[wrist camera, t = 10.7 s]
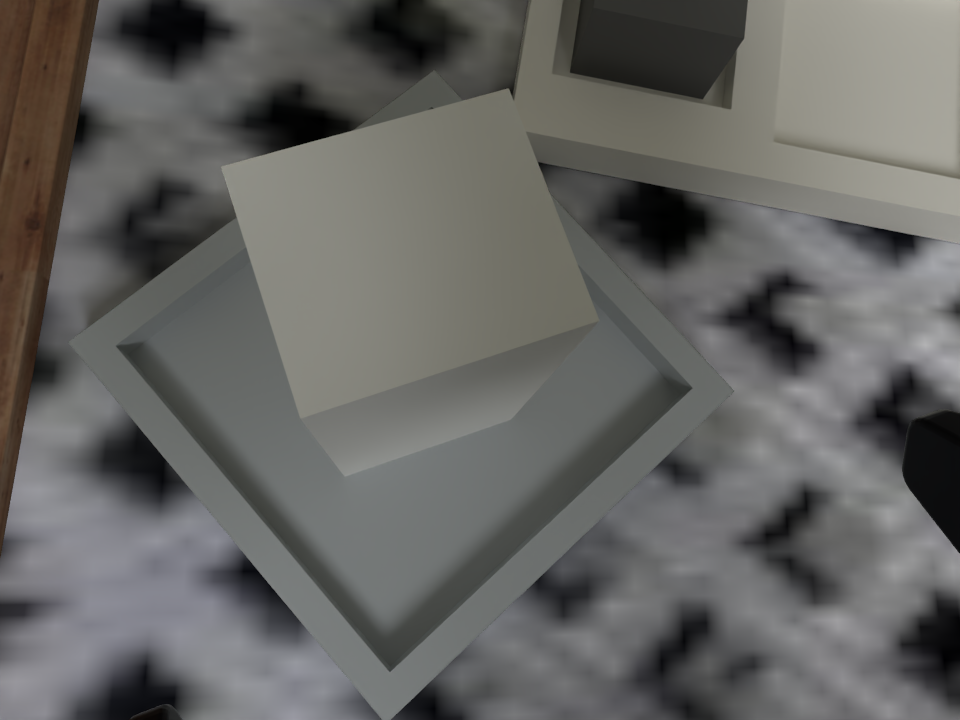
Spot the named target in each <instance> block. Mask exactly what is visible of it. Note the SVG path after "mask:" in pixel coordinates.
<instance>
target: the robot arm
mask: <svg viewBox="0 0 960 720" xmlns="http://www.w3.org/2000/svg"><path fill="white" fill-rule="evenodd" d="M902 472H903V477H904V480H905V482H906V484H907V486H908V488H909V489H910V491H911V492H912V493H913V494H914V496H915V497H916V498H917V500H918V501H919V502H920V503H921V505H922V506H923V507H924V509H925V510H926V511H927V512H928V514H929V515H930V516H931V517H932V519H933V520H934V521H935V523H936V524H937V525H938V526H939V528H940V529H941V530H942V532H943V533H944V534H945V535H946V537H947V538H948V539H949V540H950V542H951V543H952V544H953V546H954V547H955V548H956V549H957V551H958V552H959V553H960V413H958V412H954V411H950V410H944V409H943V410H937V411H933V412H931V413H928V414H926V415H923V416H920V417H918V418H915V419H914V420H912V422H911V423H910V424H909V426H908V430H907V437H906V444H905V451H904V458H903V465H902ZM130 720H182V718H181V717H180V715H179V714H178V712H177V711H176V709H175V708H174V707H173V706H171V705H169V704H165V705H161V706H158V707H156V708H153V709H150V710H148V711H145V712H142V713H140V714H137V715H135V716H133V717H132V718H131V719H130Z"/></svg>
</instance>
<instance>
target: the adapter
mask: <svg viewBox="0 0 960 720" xmlns="http://www.w3.org/2000/svg"><path fill="white" fill-rule="evenodd" d="M221 169H222V172H223V175H224V178H225V181H226V185H227V188H228V191H229V194H230V197H231V200H232V204H233V207H234V210H235V213H236V216H237V220H238V223H239V226H240V229H241V232H242V235H243V239H244V242H245V245H246V248H247V251H248V254H249V258H250V261H251V264H252V267H253V270H254V274H255V277H256V280H257V283H258V286H259V289H260V293H261V296H262V299H263V302H264V305H265V308H266V312H267V315H268V318H269V321H270V324H271V328H272V331H273V334H274V337H275V340H276V343H277V347H278V350H279V353H280V356H281V359H282V362H283V366H284V369H285V372H286V375H287V378H288V382H289V385H290V388H291V391H292V394H293V397H294V401H295V404H296V407H297V410H298V413H299V416H300V419H301V420H302V422H303V423H304V424H305V426H306V427H307V428H308V430H309V431H310V432H311V433H312V435H313V436H314V437H315V439H316V440H317V441H318V443H319V444H320V445H321V447H322V448H323V449H324V450H325V452H326V453H327V454H328V456H329V457H330V458H331V460H332V461H333V462H334V464H335V465H336V466H337V468H338V469H339V470H340V471H341V473H342V474H343V475H344V477H345V476H348V475H351V474H354V473H357V472H360V471H363V470H366V469H369V468H372V467H375V466H377V465H380V464H383V463H386V462H389V461H392V460H395V459H398V458H401V457H404V456H407V455H410V454H413V453H415V452H418V451H421V450H424V449H427V448H430V447H433V446H436V445H439V444H442V443H445V442H448V441H451V440H453V439H456V438H459V437H462V436H465V435H468V434H471V433H474V432H477V431H480V430H483V429H486V428H489V427H491V426H494V425H497V424H500V423H503V422H506V421H509V420H511V419H512V418H513V417H514V416H515V415H516V414H517V412H518V411H519V410H520V409H521V408H522V407H523V406H524V405H525V404H526V402H527V401H528V400H529V399H530V398H531V397H532V396H533V395H534V393H535V392H536V391H537V390H538V389H539V388H540V387H541V386H542V384H543V383H544V382H545V381H546V380H547V379H548V378H549V377H550V376H551V374H552V373H553V372H554V371H555V370H556V369H557V368H558V367H559V365H560V364H561V363H562V362H563V361H564V360H565V359H566V358H567V357H568V355H569V354H570V353H571V352H572V351H573V350H574V349H575V348H576V346H577V345H578V344H579V343H580V342H581V341H582V340H583V339H584V338H585V336H586V335H587V334H588V333H589V332H590V331H591V330H592V329H593V327H594V326H595V325H596V324H597V323H598V322H599V321H600V320H599V318H598V315H597V313H596V310H595V308H594V305H593V303H592V300H591V297H590V295H589V292H588V290H587V287H586V285H585V282H584V279H583V277H582V274H581V272H580V269H579V267H578V264H577V262H576V259H575V256H574V254H573V251H572V249H571V246H570V244H569V241H568V239H567V236H566V233H565V231H564V228H563V226H562V223H561V221H560V218H559V216H558V213H557V210H556V208H555V205H554V203H553V200H552V198H551V195H550V193H549V190H548V187H547V185H546V182H545V180H544V177H543V175H542V172H541V169H540V167H539V164H538V162H537V159H536V157H535V154H534V152H533V149H532V146H531V144H530V141H529V139H528V136H527V134H526V131H525V129H524V126H523V123H522V121H521V118H520V116H519V113H518V111H517V108H516V106H515V103H514V100H513V98H512V95H511V93H510V90H509V88H507V89H504V90H500V91H496V92H493V93H489V94H485V95H482V96H478V97H474V98H471V99H467V100H463V101H460V102H456V103H452V104H449V105H445V106H441V107H438V108H434V109H430V110H427V111H423V112H419V113H416V114H412V115H408V116H405V117H401V118H397V119H394V120H390V121H386V122H383V123H379V124H375V125H372V126H368V127H364V128H361V129H357V130H353V131H350V132H346V133H342V134H339V135H335V136H331V137H328V138H324V139H320V140H316V141H313V142H309V143H305V144H302V145H298V146H294V147H291V148H287V149H283V150H280V151H276V152H272V153H269V154H265V155H261V156H258V157H254V158H250V159H247V160H243V161H239V162H236V163H232V164H228V165H225V166H221Z"/></svg>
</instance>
